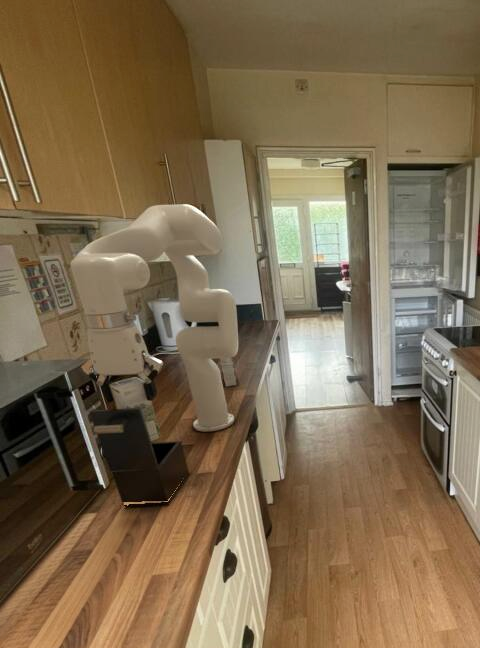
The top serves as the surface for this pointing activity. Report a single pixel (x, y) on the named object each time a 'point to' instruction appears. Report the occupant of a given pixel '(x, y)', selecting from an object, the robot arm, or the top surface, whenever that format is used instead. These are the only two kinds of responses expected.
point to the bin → (154, 477)
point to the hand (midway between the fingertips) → (132, 399)
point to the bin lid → (124, 439)
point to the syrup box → (136, 402)
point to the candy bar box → (228, 371)
